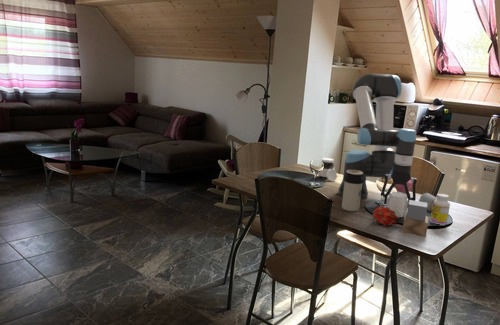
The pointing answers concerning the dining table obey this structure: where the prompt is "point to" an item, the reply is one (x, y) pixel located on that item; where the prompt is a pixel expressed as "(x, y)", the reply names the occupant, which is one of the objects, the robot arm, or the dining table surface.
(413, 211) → the gray block
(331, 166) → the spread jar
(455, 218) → the dining table surface
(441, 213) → the supplement bottle
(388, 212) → the dragon fruit
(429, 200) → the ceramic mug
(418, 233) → the walnut base block
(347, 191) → the travel mug
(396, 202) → the white cup
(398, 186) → the apple
